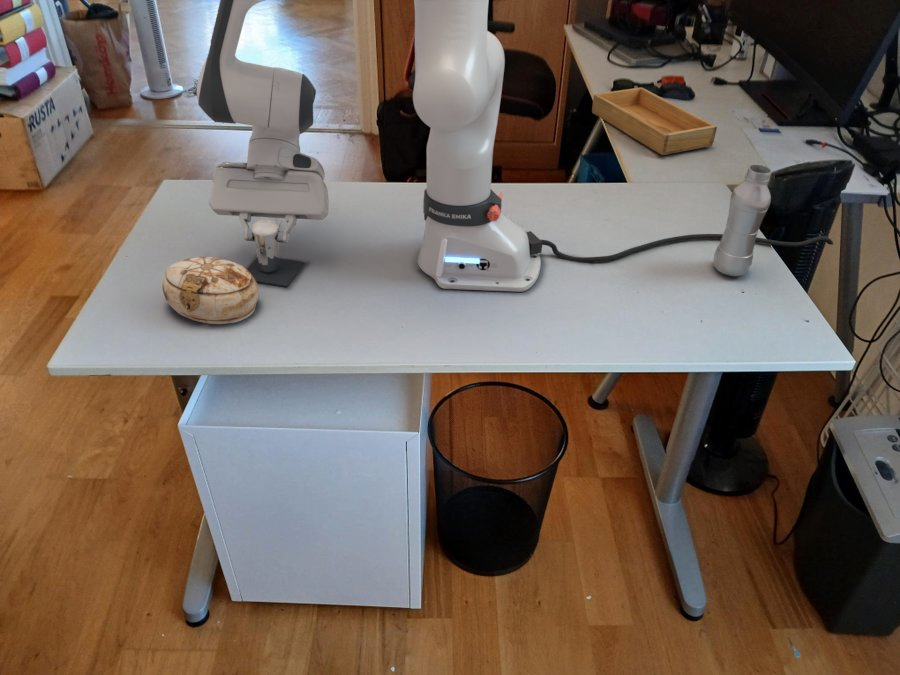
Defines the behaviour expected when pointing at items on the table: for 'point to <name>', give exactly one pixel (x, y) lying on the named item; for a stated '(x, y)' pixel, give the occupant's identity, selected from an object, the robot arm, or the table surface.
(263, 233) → the milkshake
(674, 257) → the table surface
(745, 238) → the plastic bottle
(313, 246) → the table surface
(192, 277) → the trinket box
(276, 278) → the mat
